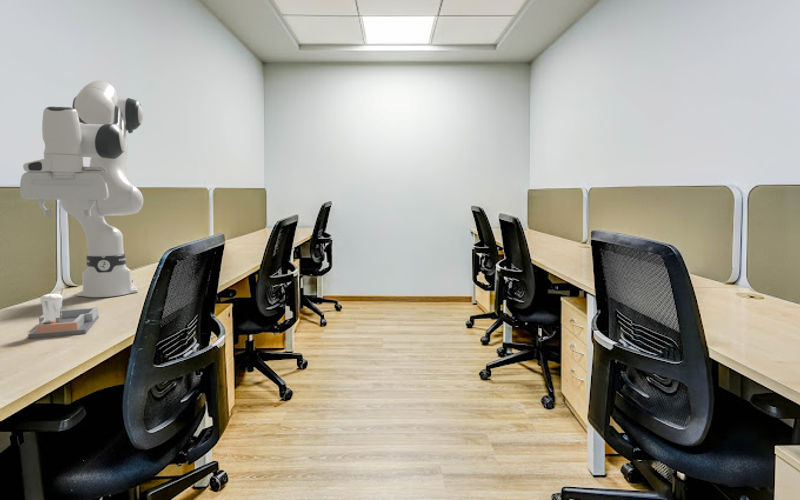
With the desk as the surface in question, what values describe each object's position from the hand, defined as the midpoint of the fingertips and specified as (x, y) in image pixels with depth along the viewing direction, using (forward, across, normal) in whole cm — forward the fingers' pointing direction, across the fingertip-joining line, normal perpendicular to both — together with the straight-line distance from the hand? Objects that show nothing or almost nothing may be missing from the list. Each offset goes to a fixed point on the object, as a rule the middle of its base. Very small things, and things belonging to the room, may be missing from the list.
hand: (67, 216), depth 136 cm
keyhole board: (+29, 0, +10) cm, 31 cm away
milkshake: (+28, +1, +15) cm, 32 cm away
